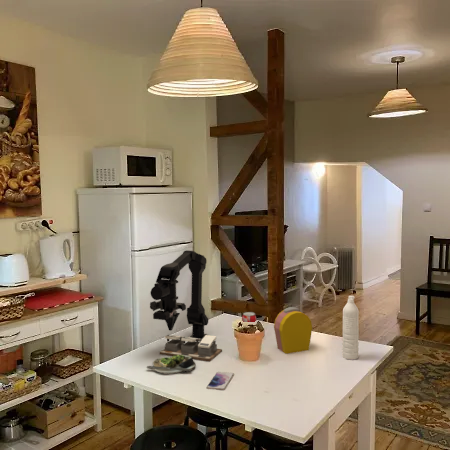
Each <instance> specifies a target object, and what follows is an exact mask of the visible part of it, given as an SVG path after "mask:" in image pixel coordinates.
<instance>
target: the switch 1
mask: <svg viewBox="0 0 450 450" xmlns="http://www.w3.org/2000/svg"><path fill="white" fill-rule="evenodd" d="M180 337H182V338H183V337H184V335H183V336H182V335H173V334H172V335H169V336H167V335H165V336H164V339H166V340H167V339H169V340H172V339H174V340H177V339H179V340H180Z"/></svg>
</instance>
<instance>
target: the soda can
mask: <svg viewBox="0 0 450 450" xmlns="http://www.w3.org/2000/svg"><path fill="white" fill-rule="evenodd" d="M257 320H258V319H257V316H256V313H255V312H253V311H248V312H247V311H245V312H243V313H242V316H241V322H242V321H243V322H255V321H257ZM257 322H258V321H257Z"/></svg>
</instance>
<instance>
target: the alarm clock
mask: <svg viewBox="0 0 450 450" xmlns="http://www.w3.org/2000/svg"><path fill="white" fill-rule="evenodd" d="M273 330H274V334H275V339H276V340H275V341H276V346H277V349H278V350H279V351H281V352H282V353H283V354H285V355H288V354H294V353H300V352H307V351H310V345H311V338H312V331H313V324H312V320H311V319H310V317H309V316H308V315H307V314H305V313H304V312H301V311H300V309H299V308H297V307H295V306H289V307H287V308H285V309H283V310H281V311H280V312H279V313H278V314H277V316H276V317H275V319H274V324H273Z"/></svg>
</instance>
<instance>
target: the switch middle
mask: <svg viewBox="0 0 450 450" xmlns="http://www.w3.org/2000/svg"><path fill="white" fill-rule="evenodd" d="M196 339H199V338H191V337H190V336H189V337H185V338H181V340H182V341H185V342H188V341H190V342H194V341H195V342H196ZM199 340H200V339H199Z"/></svg>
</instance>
